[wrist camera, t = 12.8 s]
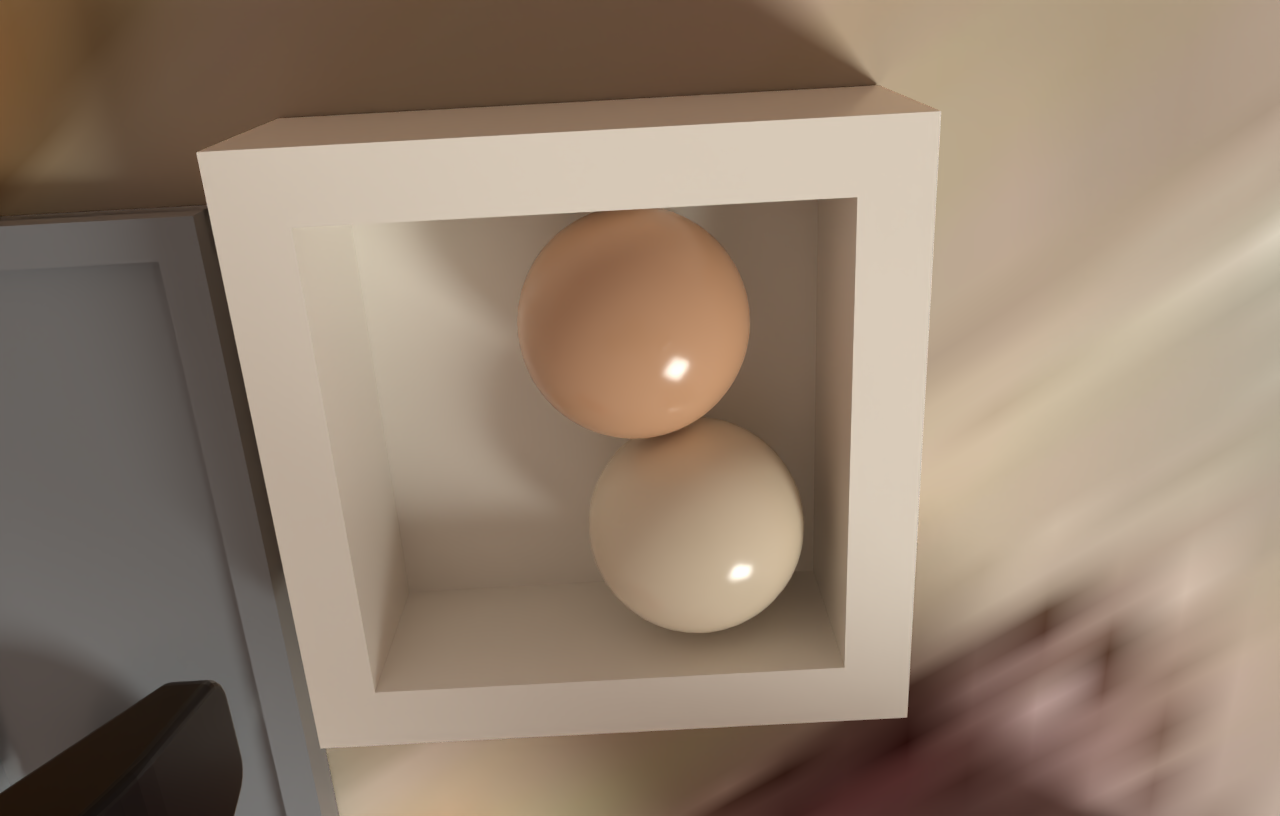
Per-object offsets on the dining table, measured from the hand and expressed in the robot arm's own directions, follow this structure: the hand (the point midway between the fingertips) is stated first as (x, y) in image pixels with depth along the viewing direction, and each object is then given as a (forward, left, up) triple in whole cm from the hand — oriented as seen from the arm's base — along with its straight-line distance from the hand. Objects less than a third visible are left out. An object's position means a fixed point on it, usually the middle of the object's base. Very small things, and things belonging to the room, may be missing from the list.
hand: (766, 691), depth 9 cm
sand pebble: (-4, +2, -11) cm, 12 cm away
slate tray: (-6, +13, -13) cm, 19 cm away
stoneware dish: (-2, +2, -13) cm, 13 cm away
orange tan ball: (0, +2, -12) cm, 12 cm away
